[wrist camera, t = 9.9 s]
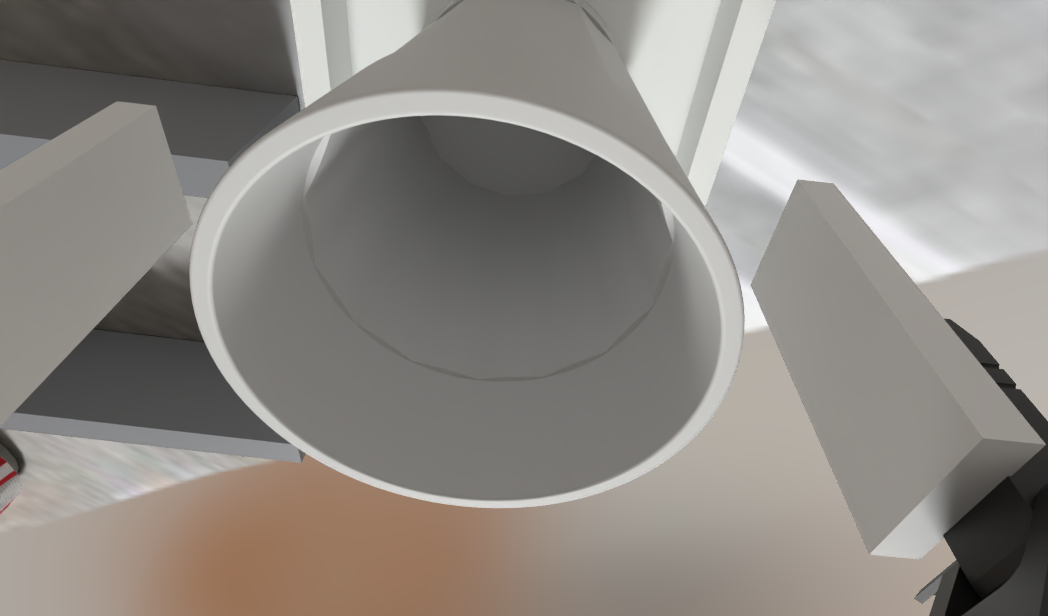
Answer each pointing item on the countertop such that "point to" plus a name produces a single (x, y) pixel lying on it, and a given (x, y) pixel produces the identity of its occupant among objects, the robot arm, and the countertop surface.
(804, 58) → the countertop surface
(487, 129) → the cup
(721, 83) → the tray
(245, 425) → the box
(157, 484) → the countertop surface
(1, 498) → the beverage can
